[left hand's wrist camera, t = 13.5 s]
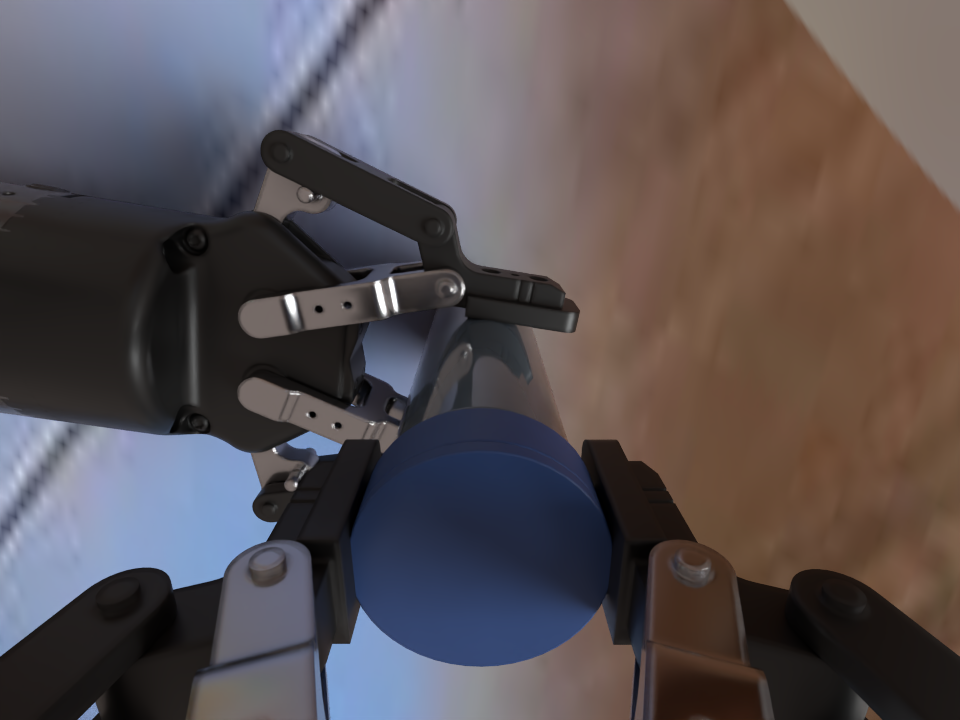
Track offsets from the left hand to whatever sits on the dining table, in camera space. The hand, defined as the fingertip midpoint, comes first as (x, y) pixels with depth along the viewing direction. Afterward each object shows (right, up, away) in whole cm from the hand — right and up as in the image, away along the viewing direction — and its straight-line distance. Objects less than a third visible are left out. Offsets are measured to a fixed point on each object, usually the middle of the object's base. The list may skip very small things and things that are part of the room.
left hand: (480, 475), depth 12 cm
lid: (0, -1, -2) cm, 3 cm away
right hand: (+3, +2, +7) cm, 7 cm away
